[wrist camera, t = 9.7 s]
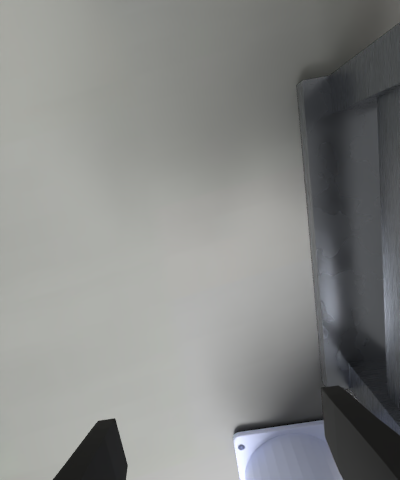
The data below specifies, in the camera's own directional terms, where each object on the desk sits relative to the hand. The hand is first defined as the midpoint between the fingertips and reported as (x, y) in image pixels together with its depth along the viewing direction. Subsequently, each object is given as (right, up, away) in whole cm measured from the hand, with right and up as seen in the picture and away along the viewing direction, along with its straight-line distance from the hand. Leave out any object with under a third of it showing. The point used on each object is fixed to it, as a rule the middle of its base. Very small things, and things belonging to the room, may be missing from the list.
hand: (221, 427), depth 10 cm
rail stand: (+9, +6, +9) cm, 15 cm away
